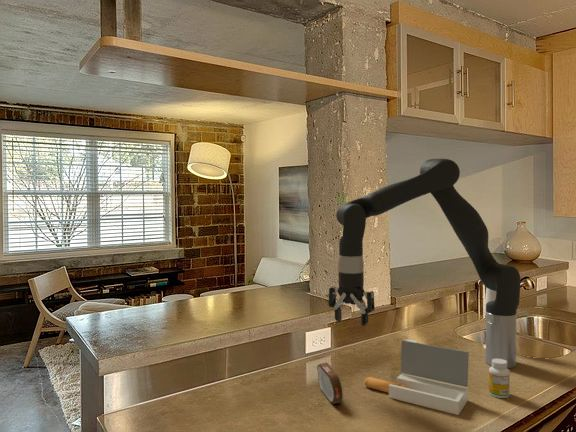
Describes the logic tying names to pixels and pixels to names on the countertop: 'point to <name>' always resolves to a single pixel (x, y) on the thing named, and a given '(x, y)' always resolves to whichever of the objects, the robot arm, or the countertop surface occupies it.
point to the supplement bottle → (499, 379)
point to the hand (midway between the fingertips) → (351, 323)
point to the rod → (379, 384)
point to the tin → (329, 383)
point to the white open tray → (429, 393)
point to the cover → (435, 363)
